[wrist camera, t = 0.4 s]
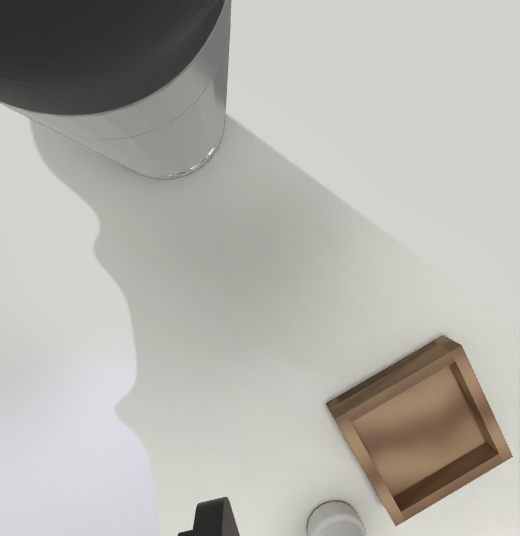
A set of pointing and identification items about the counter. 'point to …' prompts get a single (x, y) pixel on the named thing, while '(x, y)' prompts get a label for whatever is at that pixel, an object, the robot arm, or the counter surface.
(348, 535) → the bottle
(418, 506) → the walnut tray
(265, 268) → the counter surface
